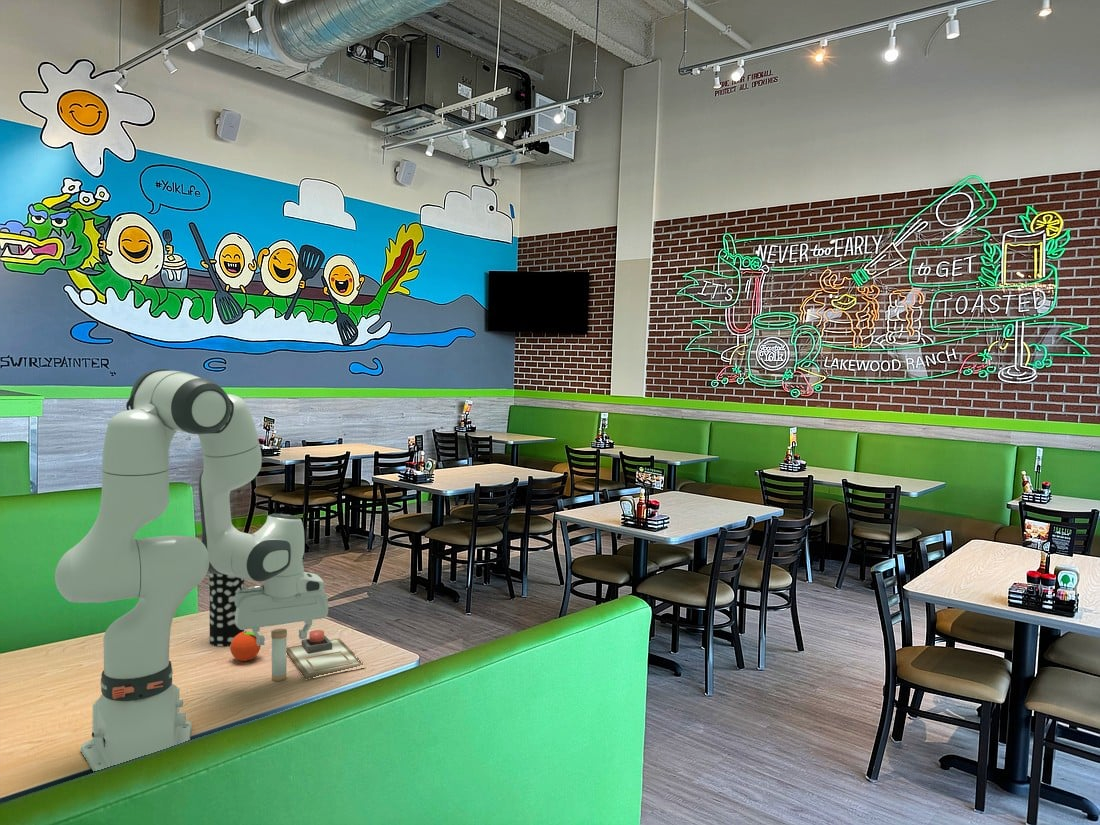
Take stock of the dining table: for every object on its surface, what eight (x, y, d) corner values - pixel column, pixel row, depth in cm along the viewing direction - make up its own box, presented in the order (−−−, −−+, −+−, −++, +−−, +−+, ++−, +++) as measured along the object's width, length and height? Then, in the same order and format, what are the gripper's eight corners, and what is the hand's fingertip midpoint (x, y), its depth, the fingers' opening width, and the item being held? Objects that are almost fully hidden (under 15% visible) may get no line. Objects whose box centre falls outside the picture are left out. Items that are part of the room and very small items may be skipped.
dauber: (288, 679, 176) (288, 632, 176) (273, 682, 175) (273, 634, 174) (284, 674, 179) (284, 627, 179) (269, 677, 177) (269, 630, 177)
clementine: (269, 655, 190) (269, 627, 190) (256, 666, 184) (256, 637, 183) (239, 653, 191) (239, 625, 191) (224, 664, 184) (224, 635, 184)
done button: (326, 640, 193) (326, 633, 193) (311, 643, 191) (311, 636, 191) (321, 636, 196) (321, 629, 196) (307, 638, 194) (307, 631, 194)
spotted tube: (236, 647, 196) (235, 570, 194) (203, 646, 196) (203, 569, 194) (249, 635, 204) (249, 561, 203) (218, 634, 204) (217, 560, 203)
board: (364, 668, 184) (364, 657, 184) (305, 680, 176) (305, 668, 176) (339, 642, 201) (339, 631, 200) (284, 651, 193) (284, 641, 193)
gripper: (237, 593, 167) (236, 654, 168) (331, 582, 178) (329, 639, 179) (232, 584, 172) (231, 643, 174) (323, 574, 183) (322, 629, 184)
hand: (281, 641), depth 176 cm, fingers open, 8 cm apart
